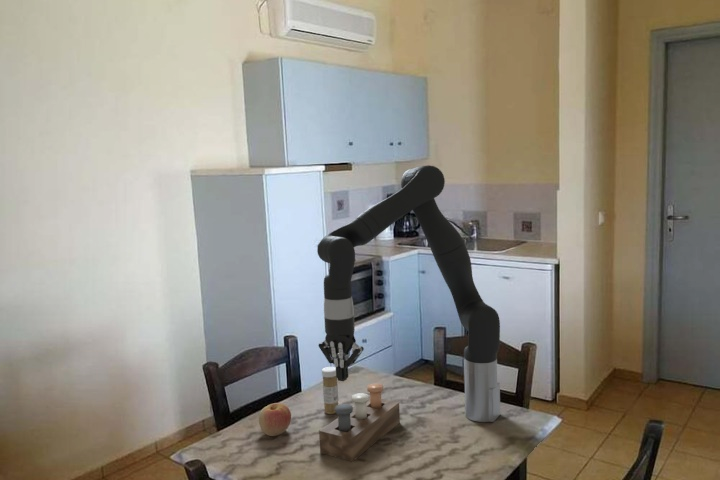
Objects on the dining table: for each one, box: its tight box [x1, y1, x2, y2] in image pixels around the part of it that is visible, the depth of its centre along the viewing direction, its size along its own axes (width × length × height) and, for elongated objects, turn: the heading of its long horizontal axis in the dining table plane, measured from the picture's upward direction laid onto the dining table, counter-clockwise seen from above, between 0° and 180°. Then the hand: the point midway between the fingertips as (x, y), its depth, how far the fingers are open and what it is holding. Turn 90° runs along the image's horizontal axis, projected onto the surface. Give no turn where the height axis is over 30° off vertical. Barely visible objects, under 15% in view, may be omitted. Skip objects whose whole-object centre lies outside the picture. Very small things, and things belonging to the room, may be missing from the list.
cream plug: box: [351, 392, 370, 420], centre depth 161 cm, size 5×5×7 cm
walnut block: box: [318, 395, 401, 462], centre depth 162 cm, size 10×25×6 cm, turn 148°
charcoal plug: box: [335, 403, 354, 432], centre depth 154 cm, size 5×5×7 cm
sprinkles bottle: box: [321, 366, 339, 415], centre depth 179 cm, size 5×5×13 cm
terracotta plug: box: [366, 382, 384, 409], centre depth 168 cm, size 5×5×7 cm
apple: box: [258, 402, 292, 437], centre depth 166 cm, size 9×9×8 cm
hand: (342, 379), depth 153 cm, fingers closed
